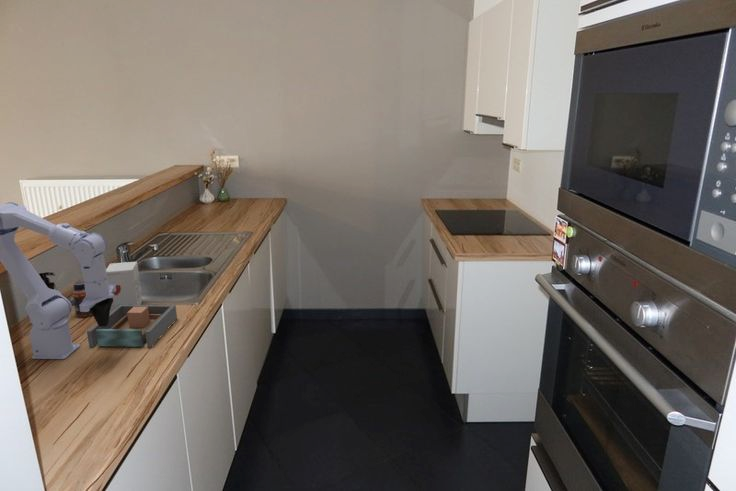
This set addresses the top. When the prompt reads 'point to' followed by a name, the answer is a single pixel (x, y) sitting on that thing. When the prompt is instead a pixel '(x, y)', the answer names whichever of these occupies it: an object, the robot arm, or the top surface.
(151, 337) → the organiser housing
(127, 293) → the supplement box
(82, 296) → the supplement bottle
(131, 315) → the terracotta block
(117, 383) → the top surface
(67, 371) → the top surface
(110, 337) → the tray
